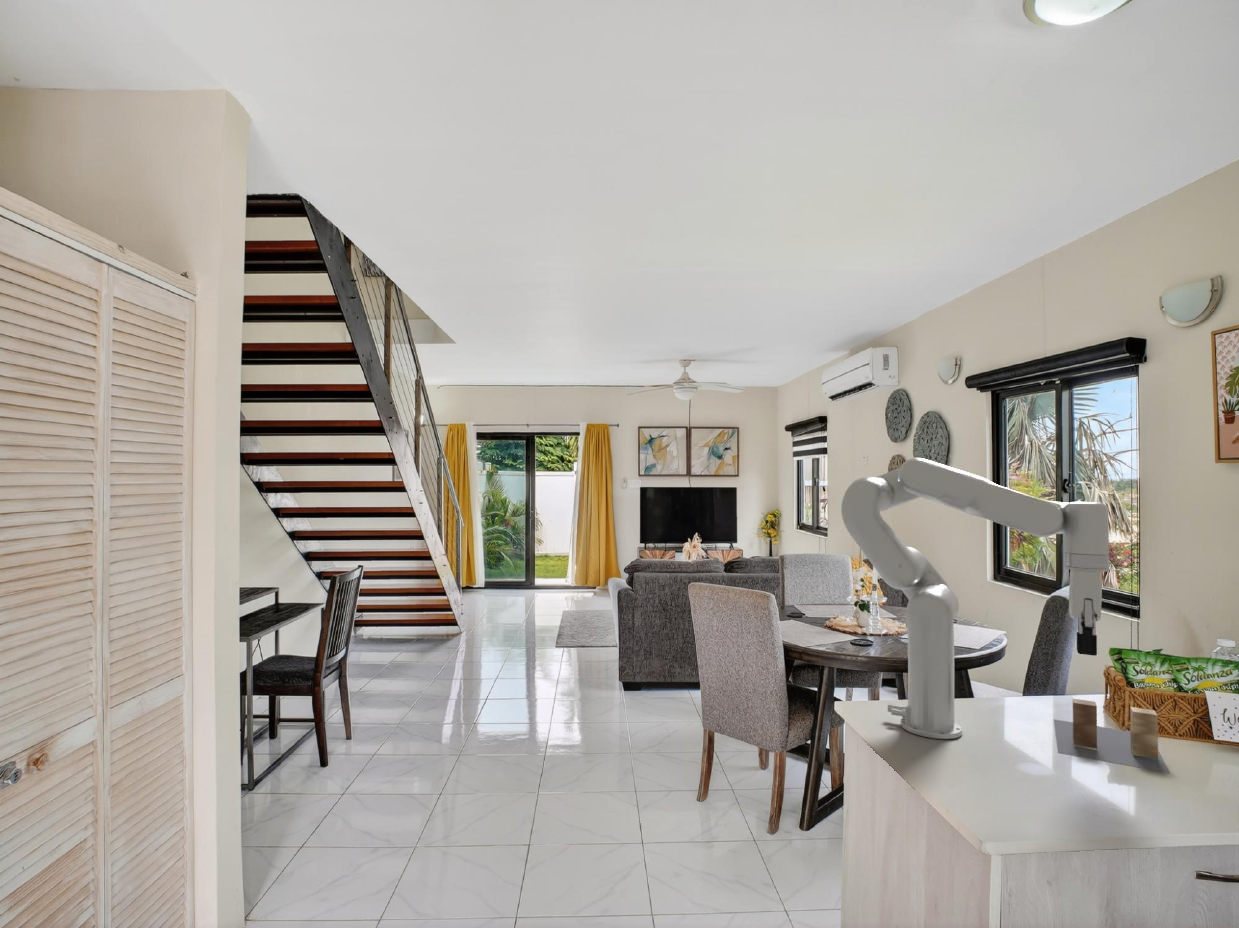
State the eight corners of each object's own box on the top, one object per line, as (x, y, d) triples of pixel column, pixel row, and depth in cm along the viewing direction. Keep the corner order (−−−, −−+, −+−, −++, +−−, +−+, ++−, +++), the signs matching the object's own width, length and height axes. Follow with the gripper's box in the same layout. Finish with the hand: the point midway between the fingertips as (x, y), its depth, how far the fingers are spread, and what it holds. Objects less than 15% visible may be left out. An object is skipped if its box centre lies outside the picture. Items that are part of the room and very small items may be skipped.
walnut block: (1073, 746, 143) (1073, 702, 143) (1072, 740, 146) (1072, 698, 146) (1096, 750, 141) (1096, 706, 141) (1095, 744, 144) (1095, 701, 144)
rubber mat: (1058, 754, 139) (1058, 752, 139) (1053, 720, 160) (1053, 719, 160) (1170, 775, 130) (1170, 772, 130) (1150, 736, 150) (1150, 734, 150)
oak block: (1133, 756, 138) (1132, 711, 138) (1130, 750, 141) (1130, 706, 141) (1158, 760, 136) (1157, 715, 136) (1155, 754, 139) (1154, 710, 139)
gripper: (1062, 558, 147) (1062, 643, 146) (1066, 564, 134) (1066, 658, 133) (1104, 560, 143) (1105, 648, 143) (1113, 567, 130) (1113, 664, 129)
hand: (1086, 653), depth 138 cm, fingers closed
